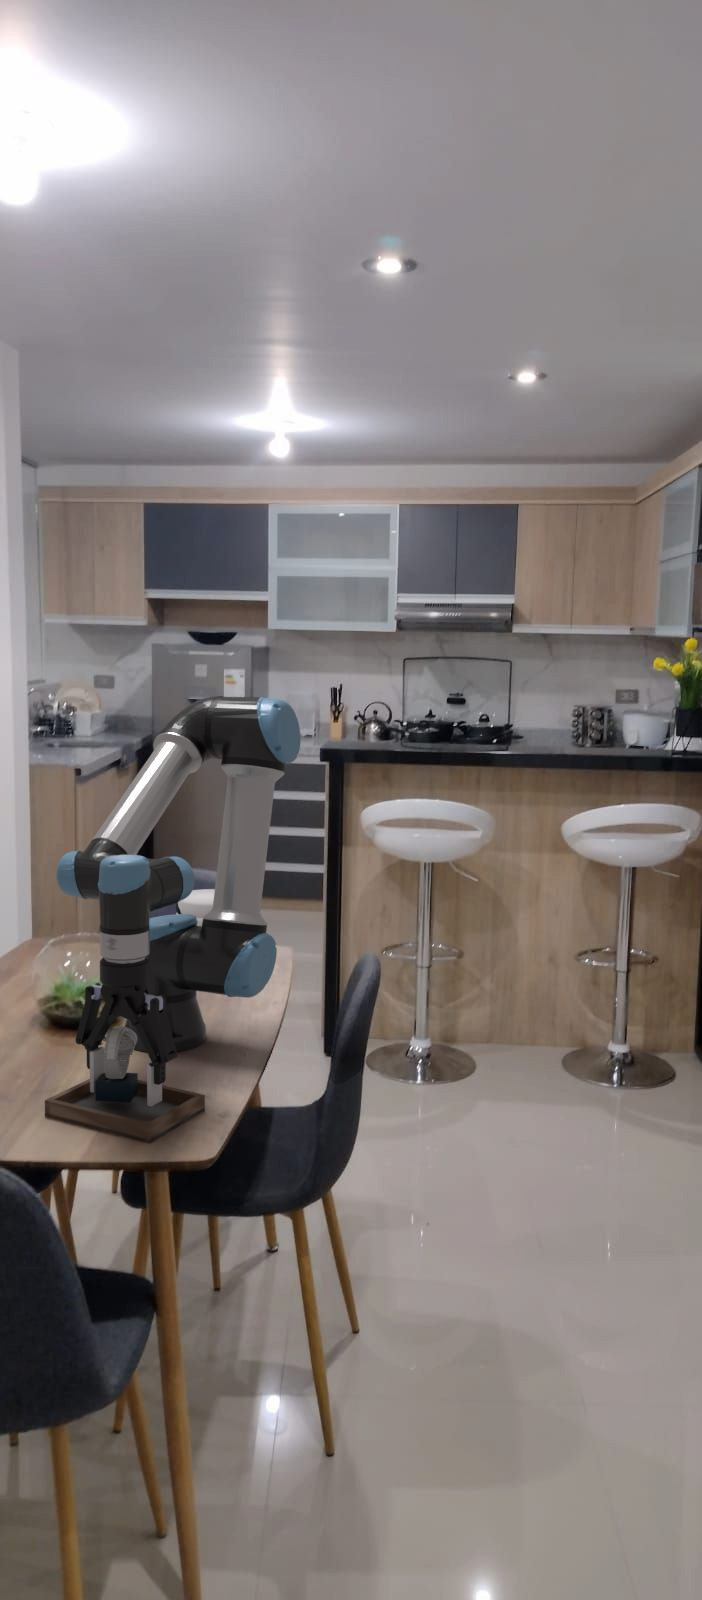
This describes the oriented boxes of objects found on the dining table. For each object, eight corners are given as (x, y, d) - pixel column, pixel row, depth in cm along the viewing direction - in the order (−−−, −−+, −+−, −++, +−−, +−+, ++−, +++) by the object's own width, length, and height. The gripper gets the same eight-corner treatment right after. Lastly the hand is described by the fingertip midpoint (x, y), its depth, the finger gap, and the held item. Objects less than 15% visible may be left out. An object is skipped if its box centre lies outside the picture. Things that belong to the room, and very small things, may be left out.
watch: (140, 1087, 180) (141, 1021, 179) (127, 1107, 172) (128, 1037, 171) (105, 1085, 180) (106, 1019, 179) (91, 1105, 173) (92, 1035, 171)
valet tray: (104, 1087, 185) (104, 1071, 185) (204, 1110, 176) (204, 1094, 176) (44, 1116, 173) (44, 1100, 173) (149, 1143, 164) (149, 1126, 164)
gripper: (50, 952, 174) (52, 1090, 176) (171, 973, 163) (171, 1119, 166) (82, 942, 180) (84, 1075, 183) (201, 961, 170) (200, 1102, 173)
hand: (125, 1096), depth 174 cm, fingers open, 10 cm apart
